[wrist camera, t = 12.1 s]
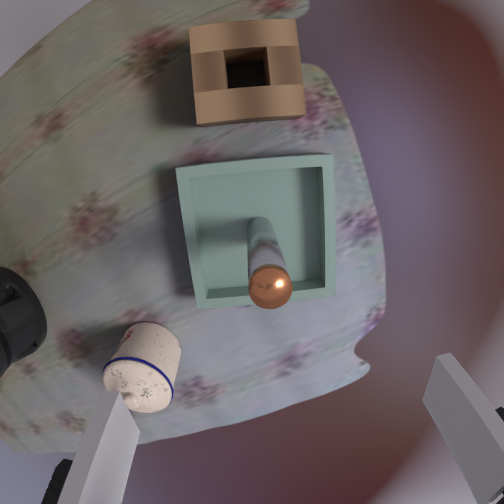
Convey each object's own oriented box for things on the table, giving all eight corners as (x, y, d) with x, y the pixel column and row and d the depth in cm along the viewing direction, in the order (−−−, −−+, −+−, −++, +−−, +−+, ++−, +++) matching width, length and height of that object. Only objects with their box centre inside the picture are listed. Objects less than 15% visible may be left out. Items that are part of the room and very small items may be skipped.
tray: (201, 295, 39) (197, 308, 36) (181, 165, 34) (175, 168, 31) (327, 282, 39) (335, 295, 36) (324, 153, 34) (332, 154, 31)
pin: (247, 243, 36) (250, 310, 22) (245, 217, 35) (246, 271, 21) (273, 241, 36) (293, 306, 22) (272, 215, 35) (291, 267, 21)
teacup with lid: (124, 311, 40) (93, 364, 29) (188, 329, 41) (173, 389, 30) (120, 373, 44) (96, 427, 33) (175, 389, 45) (162, 447, 34)
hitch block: (204, 127, 33) (196, 124, 27) (197, 44, 29) (188, 27, 24) (295, 119, 32) (306, 114, 27) (286, 37, 29) (295, 18, 23)
